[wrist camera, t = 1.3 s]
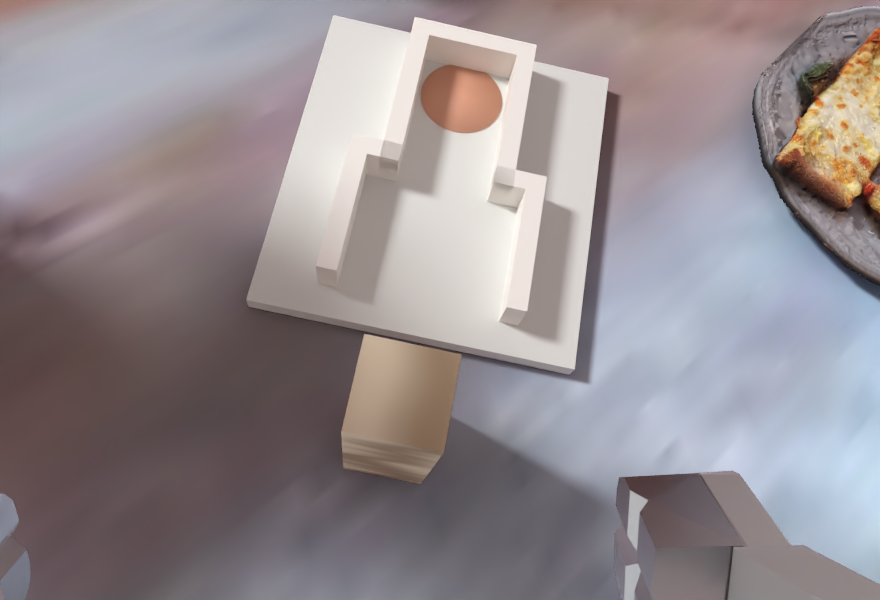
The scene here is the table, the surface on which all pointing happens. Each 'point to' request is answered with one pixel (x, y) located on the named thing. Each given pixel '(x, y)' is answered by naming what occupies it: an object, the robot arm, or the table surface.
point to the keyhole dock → (439, 194)
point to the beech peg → (398, 409)
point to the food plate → (828, 133)
